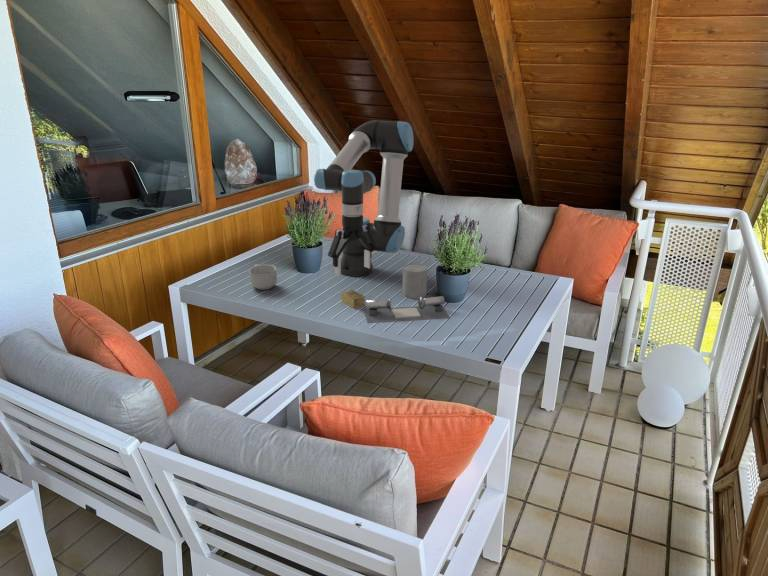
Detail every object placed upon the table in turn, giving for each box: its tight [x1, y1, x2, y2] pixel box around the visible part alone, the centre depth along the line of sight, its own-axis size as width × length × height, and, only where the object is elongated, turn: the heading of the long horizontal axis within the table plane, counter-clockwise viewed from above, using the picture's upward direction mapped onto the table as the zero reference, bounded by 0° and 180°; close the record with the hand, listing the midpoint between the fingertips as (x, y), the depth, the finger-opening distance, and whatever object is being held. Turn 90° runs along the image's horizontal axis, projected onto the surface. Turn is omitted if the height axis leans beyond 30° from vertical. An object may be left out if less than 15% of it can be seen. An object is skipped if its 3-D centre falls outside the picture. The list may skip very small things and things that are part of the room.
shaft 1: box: [365, 298, 392, 316], centre depth 209 cm, size 9×4×6 cm, turn 90°
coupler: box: [341, 289, 366, 309], centre depth 217 cm, size 8×5×5 cm, turn 38°
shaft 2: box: [417, 295, 445, 312], centre depth 212 cm, size 9×4×6 cm, turn 110°
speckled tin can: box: [401, 263, 428, 300], centre depth 226 cm, size 10×10×12 cm
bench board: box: [363, 305, 451, 324], centre depth 210 cm, size 12×30×1 cm, turn 100°
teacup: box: [248, 264, 278, 291], centre depth 235 cm, size 14×11×8 cm
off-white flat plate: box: [392, 308, 420, 318], centre depth 210 cm, size 7×9×1 cm
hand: (352, 271), depth 213 cm, fingers open, 13 cm apart
